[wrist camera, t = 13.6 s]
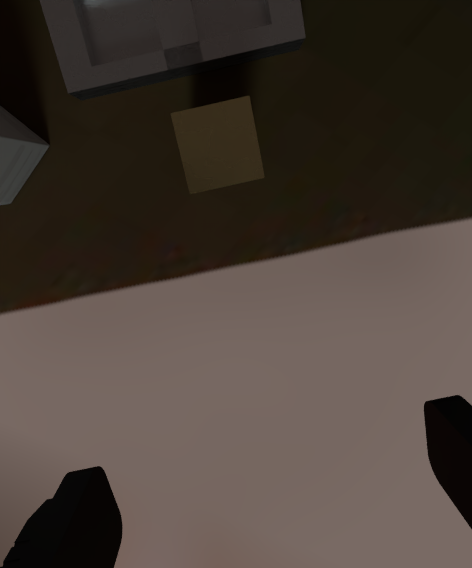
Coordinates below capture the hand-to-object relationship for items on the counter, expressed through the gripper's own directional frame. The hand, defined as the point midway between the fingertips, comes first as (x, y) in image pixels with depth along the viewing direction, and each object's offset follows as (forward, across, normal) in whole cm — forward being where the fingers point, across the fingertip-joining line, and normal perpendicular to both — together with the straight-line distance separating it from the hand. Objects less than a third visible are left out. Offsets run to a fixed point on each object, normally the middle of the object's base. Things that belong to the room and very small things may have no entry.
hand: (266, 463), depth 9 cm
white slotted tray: (+30, +1, -21) cm, 37 cm away
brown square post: (+30, 0, -9) cm, 31 cm away
